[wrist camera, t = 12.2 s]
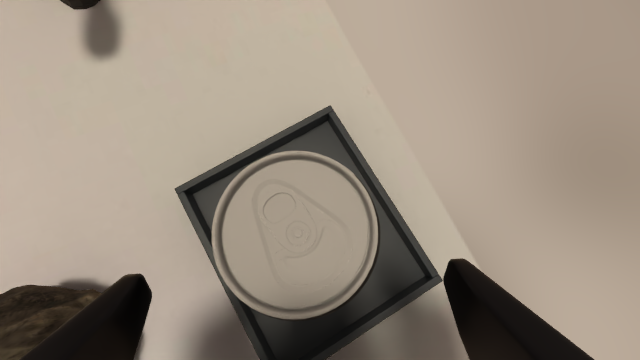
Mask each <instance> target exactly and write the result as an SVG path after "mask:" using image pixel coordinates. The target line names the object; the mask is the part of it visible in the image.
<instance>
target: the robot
mask: <svg viewBox="0 0 640 360" xmlns="http://www.w3.org/2000/svg"><path fill="white" fill-rule="evenodd" d="M61 1H62V2H63V3H65V4H67V5H68V6H70V7H71V8H73V9H87V8H89V7H91V6H93V5H95V4H96V3H98V2H99V1H100V0H61Z"/></svg>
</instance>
